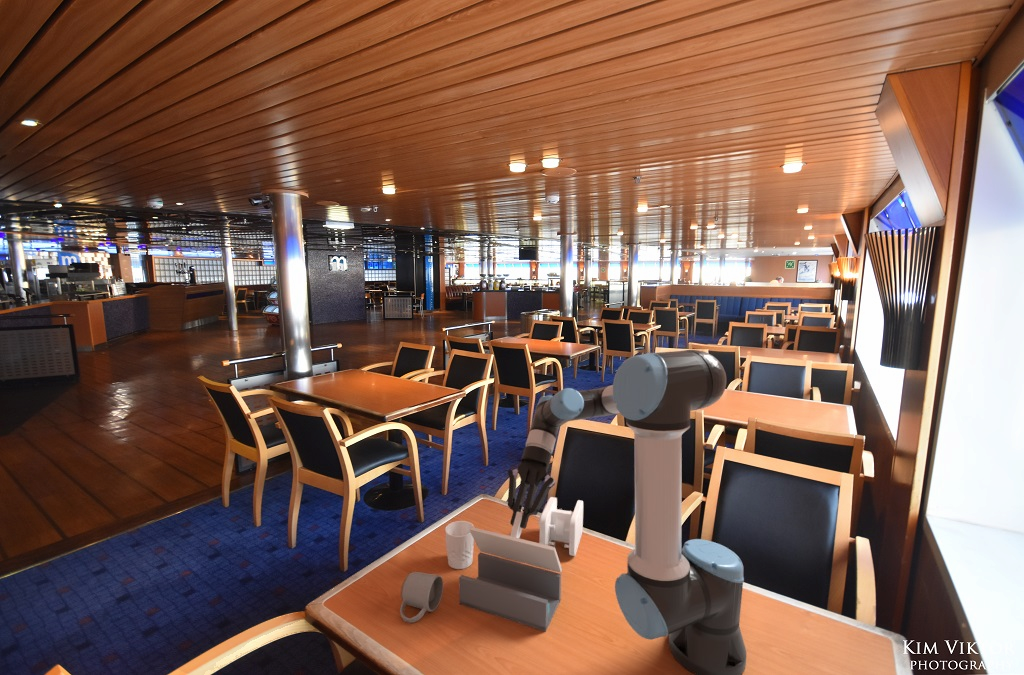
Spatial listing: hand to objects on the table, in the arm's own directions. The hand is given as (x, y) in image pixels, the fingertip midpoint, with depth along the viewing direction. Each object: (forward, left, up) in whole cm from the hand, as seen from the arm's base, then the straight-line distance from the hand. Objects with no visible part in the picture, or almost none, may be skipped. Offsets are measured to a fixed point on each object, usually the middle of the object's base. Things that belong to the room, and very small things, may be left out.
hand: (513, 540), depth 115 cm
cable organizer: (-4, -26, -15) cm, 30 cm away
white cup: (+19, -7, -15) cm, 25 cm away
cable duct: (0, +2, -15) cm, 15 cm away
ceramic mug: (+19, +13, -15) cm, 27 cm away
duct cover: (0, 0, -3) cm, 3 cm away
